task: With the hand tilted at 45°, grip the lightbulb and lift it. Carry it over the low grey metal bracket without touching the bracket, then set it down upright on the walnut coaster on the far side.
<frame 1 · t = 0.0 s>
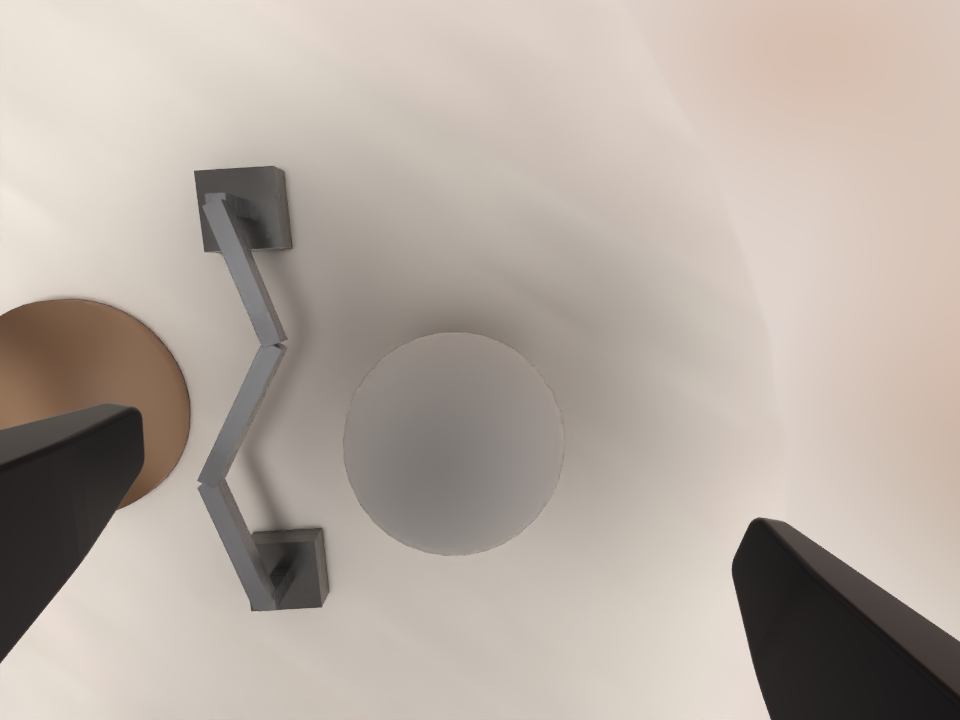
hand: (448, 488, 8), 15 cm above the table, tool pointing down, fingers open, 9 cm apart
grey metal bracket: (272, 395, 24), on the table
lightbulb: (462, 384, 24), on the table
walnut coaster: (82, 406, 24), on the table
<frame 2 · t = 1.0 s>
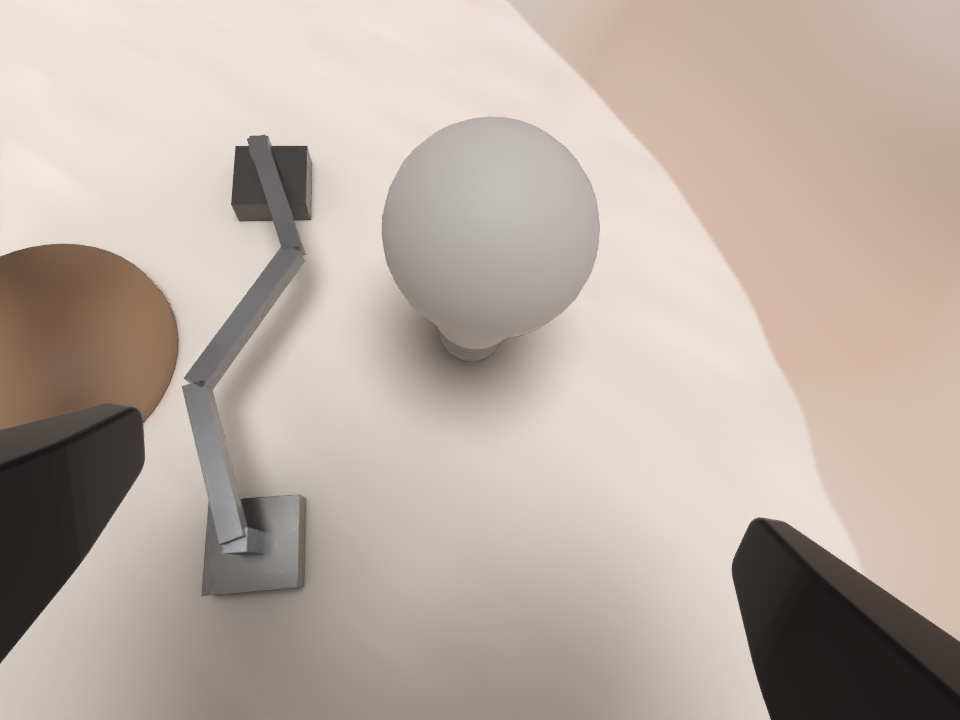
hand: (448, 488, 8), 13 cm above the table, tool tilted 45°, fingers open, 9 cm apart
grey metal bracket: (270, 348, 23), on the table
lightbulb: (468, 341, 24), on the table
walnut coaster: (53, 357, 22), on the table
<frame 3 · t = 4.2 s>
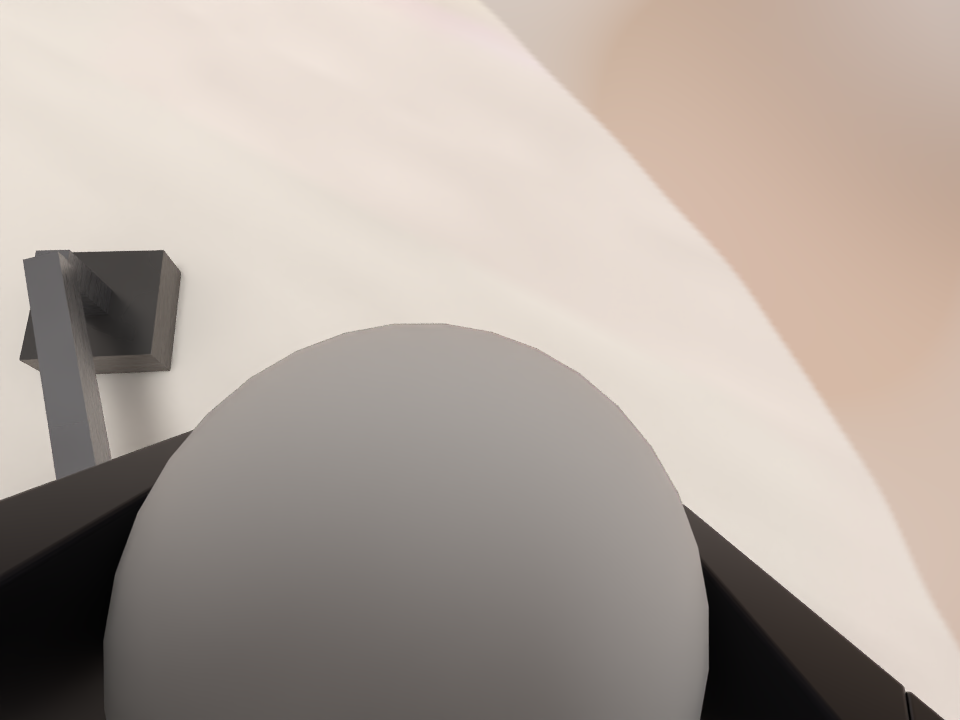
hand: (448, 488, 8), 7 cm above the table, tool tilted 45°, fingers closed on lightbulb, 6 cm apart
grey metal bracket: (73, 620, 13), on the table
lightbulb: (424, 587, 14), on the table, touching gripper
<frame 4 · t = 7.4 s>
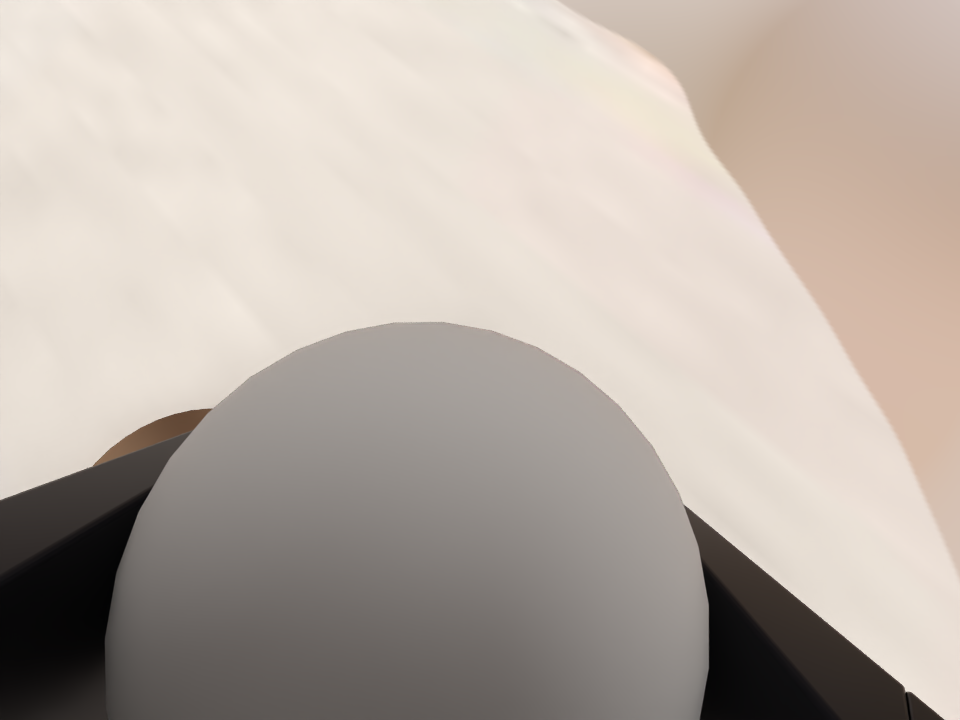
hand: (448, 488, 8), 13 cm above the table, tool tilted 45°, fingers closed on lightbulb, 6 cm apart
lightbulb: (425, 585, 14), point 6 cm above the table, touching gripper
walnut coaster: (204, 538, 20), on the table
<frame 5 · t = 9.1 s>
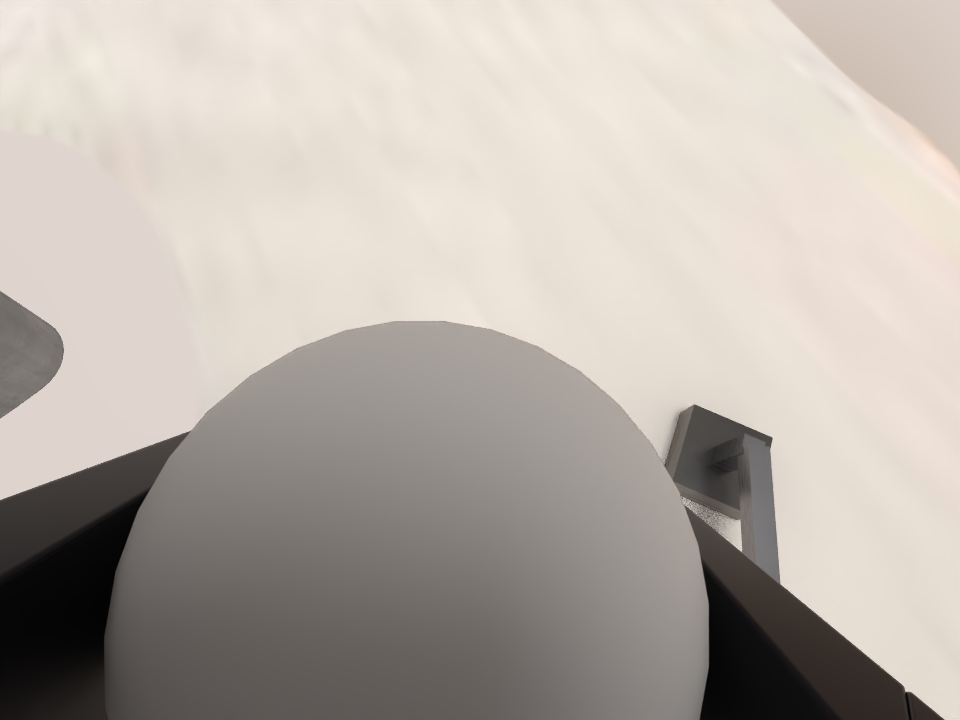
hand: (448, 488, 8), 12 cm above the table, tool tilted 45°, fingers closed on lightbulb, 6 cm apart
grey metal bracket: (650, 677, 18), on the table
lightbulb: (425, 584, 14), point 5 cm above the table, touching gripper
when the fingers open (8 cm above the table, at t = 10.7 s): lightbulb stays where it is, resting on walnut coaster.
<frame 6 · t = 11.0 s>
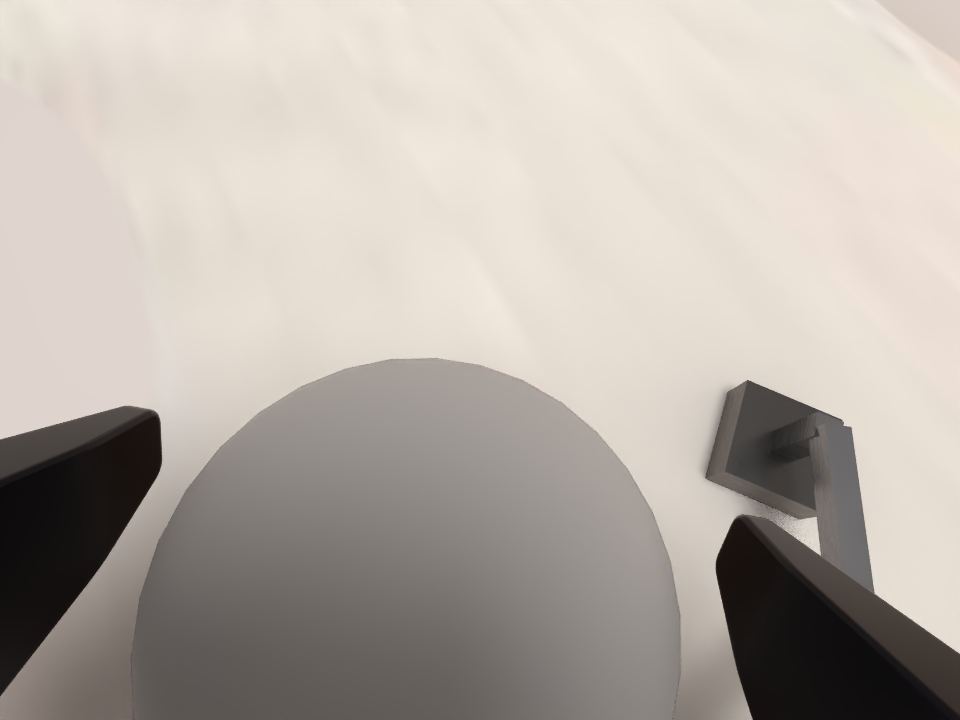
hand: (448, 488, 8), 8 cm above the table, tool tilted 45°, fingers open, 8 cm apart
grey metal bracket: (703, 713, 15), on the table
lightbulb: (421, 597, 15), point 1 cm above the table, touching walnut coaster
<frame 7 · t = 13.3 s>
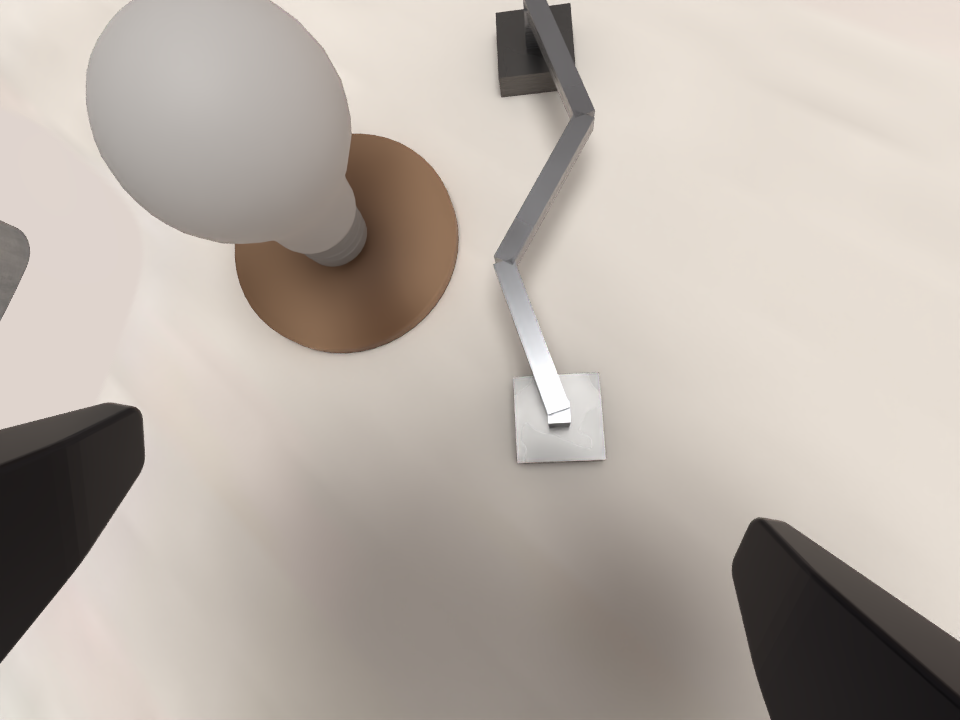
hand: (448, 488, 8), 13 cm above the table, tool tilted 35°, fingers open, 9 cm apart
grey metal bracket: (546, 229, 22), on the table
lightbulb: (344, 245, 23), point 1 cm above the table, touching walnut coaster
walnut coaster: (349, 245, 23), on the table
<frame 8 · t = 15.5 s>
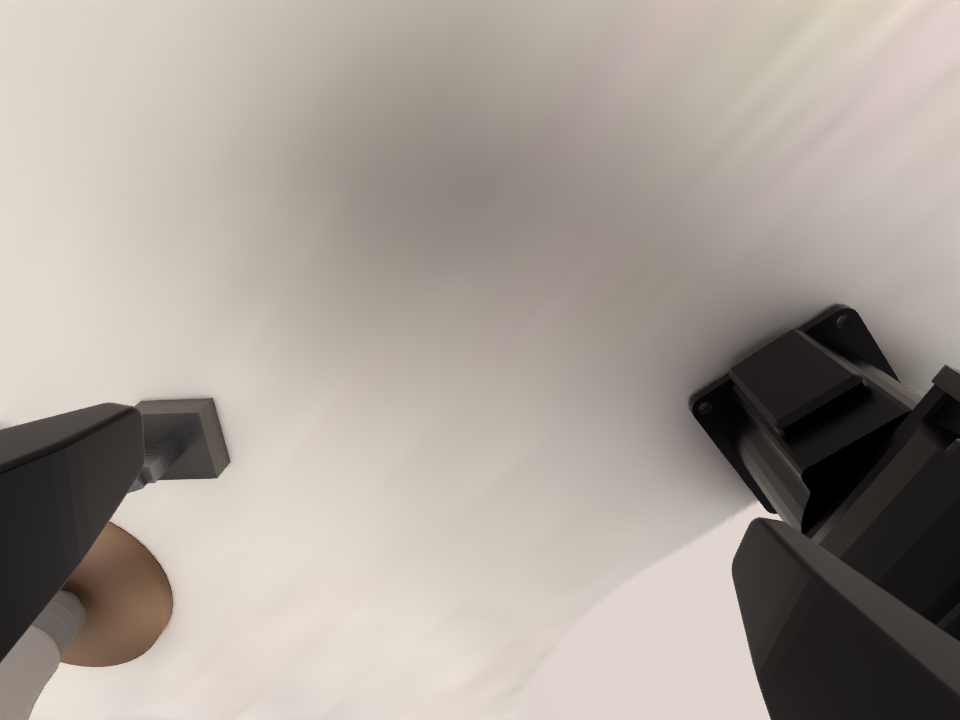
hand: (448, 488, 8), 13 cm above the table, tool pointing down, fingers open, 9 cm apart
grey metal bracket: (14, 438, 24), on the table
lightbulb: (73, 593, 26), point 1 cm above the table, touching walnut coaster
walnut coaster: (77, 584, 27), on the table
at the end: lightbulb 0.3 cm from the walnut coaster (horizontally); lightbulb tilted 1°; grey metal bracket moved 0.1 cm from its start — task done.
